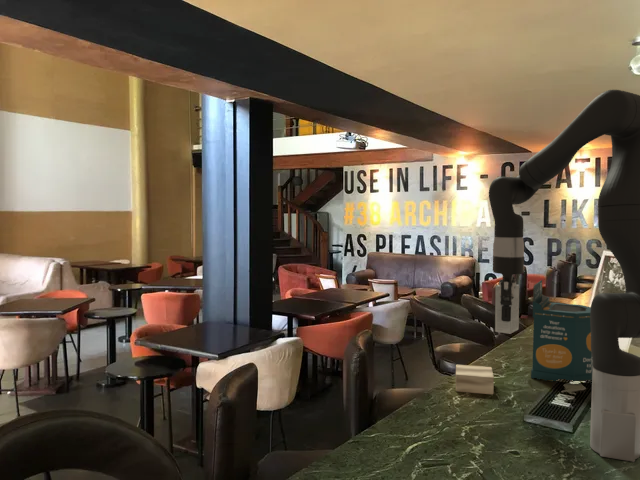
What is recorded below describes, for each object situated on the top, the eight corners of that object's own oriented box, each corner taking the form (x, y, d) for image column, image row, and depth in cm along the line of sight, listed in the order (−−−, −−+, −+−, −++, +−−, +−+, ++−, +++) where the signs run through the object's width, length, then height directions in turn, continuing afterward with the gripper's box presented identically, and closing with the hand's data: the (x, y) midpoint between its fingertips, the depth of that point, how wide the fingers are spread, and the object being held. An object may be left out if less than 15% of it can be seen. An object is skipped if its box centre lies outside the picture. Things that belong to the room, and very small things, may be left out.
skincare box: (502, 327, 141) (503, 283, 140) (518, 330, 138) (519, 284, 138) (494, 331, 136) (495, 285, 136) (510, 334, 133) (511, 287, 133)
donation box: (539, 364, 173) (541, 279, 172) (594, 372, 165) (597, 283, 163) (530, 378, 159) (533, 285, 158) (590, 387, 151) (593, 290, 150)
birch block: (493, 395, 145) (493, 377, 145) (455, 392, 147) (456, 374, 147) (490, 383, 155) (491, 367, 154) (455, 380, 157) (456, 364, 157)
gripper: (523, 257, 128) (521, 325, 129) (524, 253, 141) (523, 314, 142) (490, 256, 131) (489, 322, 132) (495, 252, 144) (493, 312, 145)
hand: (506, 318), depth 137 cm, fingers closed on skincare box, 7 cm apart
